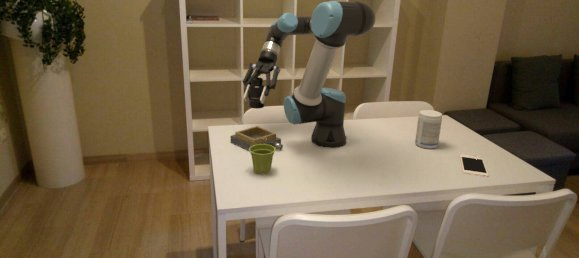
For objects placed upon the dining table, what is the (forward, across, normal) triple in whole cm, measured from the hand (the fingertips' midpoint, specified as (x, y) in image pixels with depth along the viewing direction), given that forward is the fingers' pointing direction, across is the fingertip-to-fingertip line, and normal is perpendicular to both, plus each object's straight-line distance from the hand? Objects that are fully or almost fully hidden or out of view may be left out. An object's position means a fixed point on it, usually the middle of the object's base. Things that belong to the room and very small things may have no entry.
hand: (253, 100), depth 178 cm
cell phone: (+3, -87, -26) cm, 91 cm away
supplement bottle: (0, 0, -5) cm, 5 cm away
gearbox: (+14, -3, -12) cm, 19 cm away
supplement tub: (-8, -68, -35) cm, 77 cm away
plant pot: (+30, -14, +3) cm, 33 cm away
